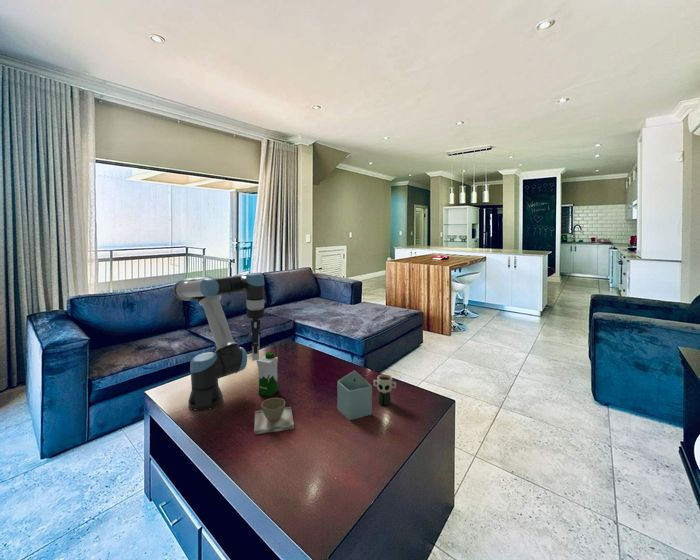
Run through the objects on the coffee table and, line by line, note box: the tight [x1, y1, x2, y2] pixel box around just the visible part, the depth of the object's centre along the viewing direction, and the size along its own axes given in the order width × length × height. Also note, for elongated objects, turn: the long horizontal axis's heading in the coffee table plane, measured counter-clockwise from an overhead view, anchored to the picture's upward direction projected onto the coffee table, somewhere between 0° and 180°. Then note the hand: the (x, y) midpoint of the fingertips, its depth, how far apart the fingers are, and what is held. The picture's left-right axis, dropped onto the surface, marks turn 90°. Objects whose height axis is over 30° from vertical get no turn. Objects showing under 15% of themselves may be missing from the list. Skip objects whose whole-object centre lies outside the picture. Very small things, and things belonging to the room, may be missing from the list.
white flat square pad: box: [253, 406, 295, 435], centre depth 144 cm, size 16×16×1 cm
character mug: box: [372, 373, 397, 406], centre depth 159 cm, size 11×7×13 cm, turn 77°
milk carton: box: [256, 351, 279, 398], centre depth 168 cm, size 9×9×20 cm
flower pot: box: [260, 397, 286, 422], centre depth 143 cm, size 10×10×7 cm
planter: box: [337, 370, 373, 421], centre depth 147 cm, size 16×8×20 cm, turn 72°
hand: (256, 354), depth 149 cm, fingers open, 13 cm apart
